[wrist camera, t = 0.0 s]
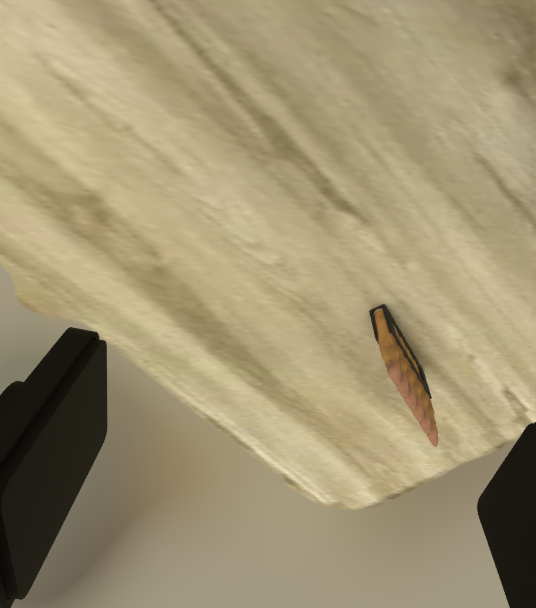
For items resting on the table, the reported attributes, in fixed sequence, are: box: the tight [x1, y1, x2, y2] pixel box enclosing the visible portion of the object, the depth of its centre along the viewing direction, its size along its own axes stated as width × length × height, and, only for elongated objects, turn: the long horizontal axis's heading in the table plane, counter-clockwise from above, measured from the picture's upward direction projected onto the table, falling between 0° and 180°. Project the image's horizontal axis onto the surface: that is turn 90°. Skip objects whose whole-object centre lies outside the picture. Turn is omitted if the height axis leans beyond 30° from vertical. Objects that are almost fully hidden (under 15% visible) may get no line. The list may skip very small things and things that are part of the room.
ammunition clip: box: [370, 305, 438, 447], centre depth 48 cm, size 11×2×12 cm, turn 32°
